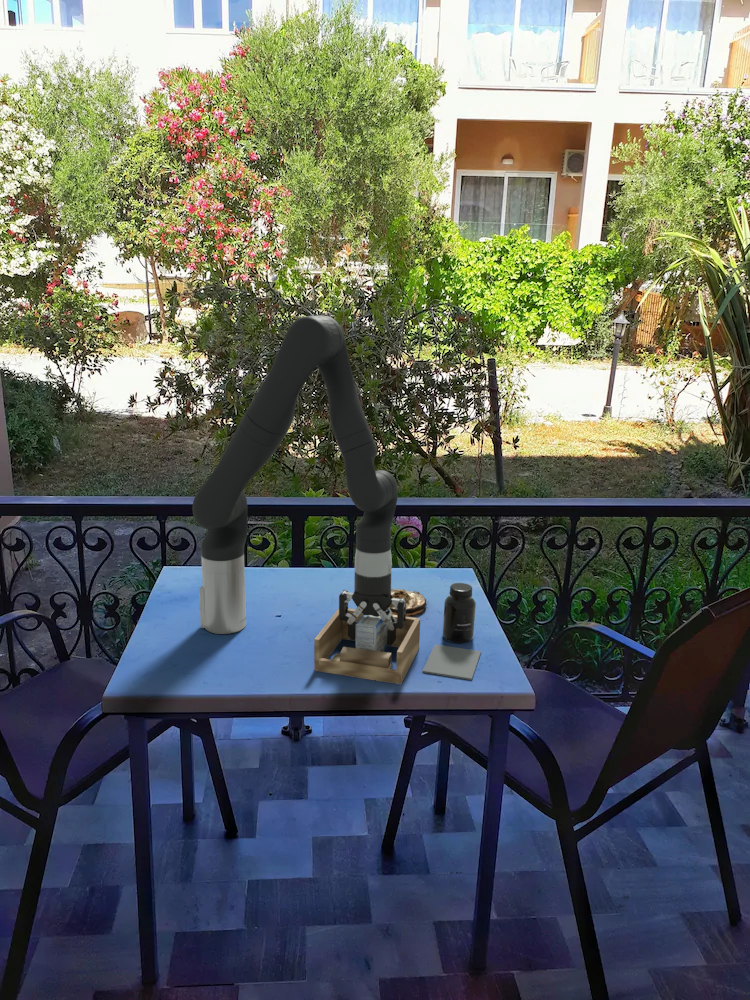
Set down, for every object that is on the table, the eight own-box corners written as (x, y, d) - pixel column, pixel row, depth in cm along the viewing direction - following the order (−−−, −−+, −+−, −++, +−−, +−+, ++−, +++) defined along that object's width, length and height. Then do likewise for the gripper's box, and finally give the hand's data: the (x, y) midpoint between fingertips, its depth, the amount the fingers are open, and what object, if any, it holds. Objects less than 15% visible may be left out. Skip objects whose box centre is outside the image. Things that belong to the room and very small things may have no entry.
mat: (422, 672, 162) (422, 670, 162) (434, 646, 173) (434, 644, 173) (471, 680, 160) (471, 678, 159) (480, 653, 171) (481, 651, 171)
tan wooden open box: (314, 670, 162) (314, 639, 160) (339, 636, 177) (339, 607, 175) (400, 684, 157) (401, 652, 155) (419, 648, 172) (420, 618, 170)
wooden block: (330, 669, 163) (330, 651, 161) (336, 661, 166) (336, 644, 164) (388, 678, 160) (388, 660, 158) (392, 670, 163) (392, 653, 161)
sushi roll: (426, 624, 184) (427, 607, 183) (363, 616, 188) (363, 600, 186) (436, 599, 198) (437, 583, 197) (377, 592, 201) (378, 577, 200)
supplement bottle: (461, 647, 173) (464, 595, 170) (436, 637, 177) (438, 587, 174) (479, 636, 178) (482, 586, 175) (454, 627, 182) (457, 578, 179)
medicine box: (375, 665, 165) (376, 626, 162) (354, 661, 166) (355, 623, 163) (386, 648, 172) (387, 611, 169) (366, 645, 173) (367, 608, 171)
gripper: (333, 571, 162) (333, 644, 166) (402, 579, 158) (400, 654, 163) (345, 558, 169) (344, 629, 173) (411, 566, 165) (409, 638, 170)
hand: (371, 641), depth 168 cm, fingers open, 7 cm apart
